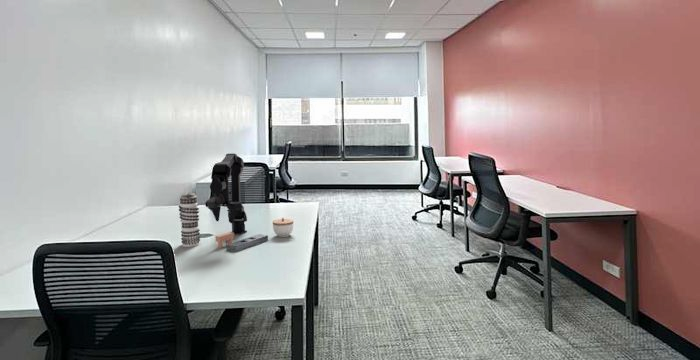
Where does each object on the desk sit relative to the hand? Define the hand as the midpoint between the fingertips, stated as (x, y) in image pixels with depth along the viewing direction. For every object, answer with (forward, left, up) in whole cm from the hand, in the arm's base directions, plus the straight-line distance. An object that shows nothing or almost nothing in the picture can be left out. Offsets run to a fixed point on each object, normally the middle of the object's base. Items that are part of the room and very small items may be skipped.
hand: (224, 222), depth 203 cm
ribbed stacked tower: (-17, -6, -12) cm, 22 cm away
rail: (+9, +6, -12) cm, 16 cm away
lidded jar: (+13, +28, -12) cm, 33 cm away
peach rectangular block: (0, 0, -12) cm, 12 cm away
